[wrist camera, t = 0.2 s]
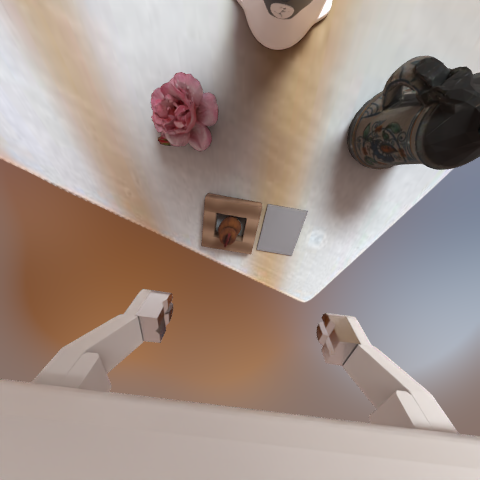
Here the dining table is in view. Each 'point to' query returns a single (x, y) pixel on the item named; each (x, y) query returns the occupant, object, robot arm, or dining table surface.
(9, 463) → the robot arm
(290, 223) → the slate mat
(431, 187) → the dining table surface
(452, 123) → the beer stein
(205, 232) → the walnut socket block
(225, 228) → the wooden figurine
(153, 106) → the flower
